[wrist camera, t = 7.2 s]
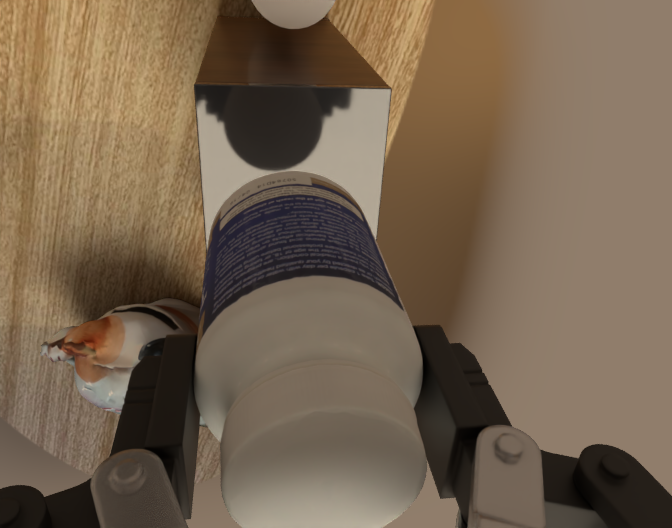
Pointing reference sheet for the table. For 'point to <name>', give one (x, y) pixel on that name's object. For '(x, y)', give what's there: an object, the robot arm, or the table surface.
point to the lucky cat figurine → (119, 346)
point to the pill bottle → (307, 361)
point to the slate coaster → (291, 138)
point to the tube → (293, 11)
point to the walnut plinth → (282, 55)
